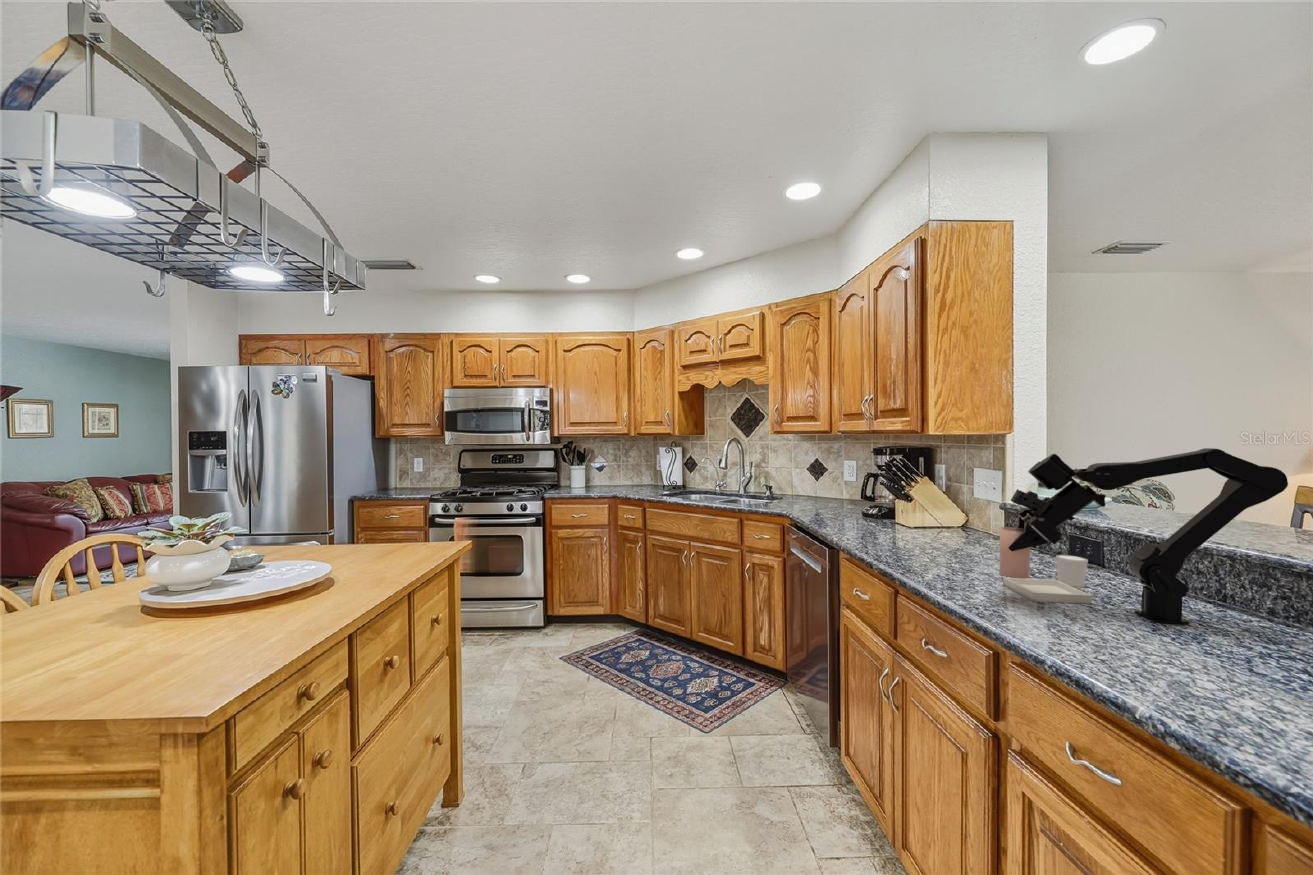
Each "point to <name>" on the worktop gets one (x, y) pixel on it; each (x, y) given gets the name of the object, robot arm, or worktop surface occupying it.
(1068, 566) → the white short cylinder
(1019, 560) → the deep cup
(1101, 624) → the worktop surface
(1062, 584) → the tray
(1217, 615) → the worktop surface
